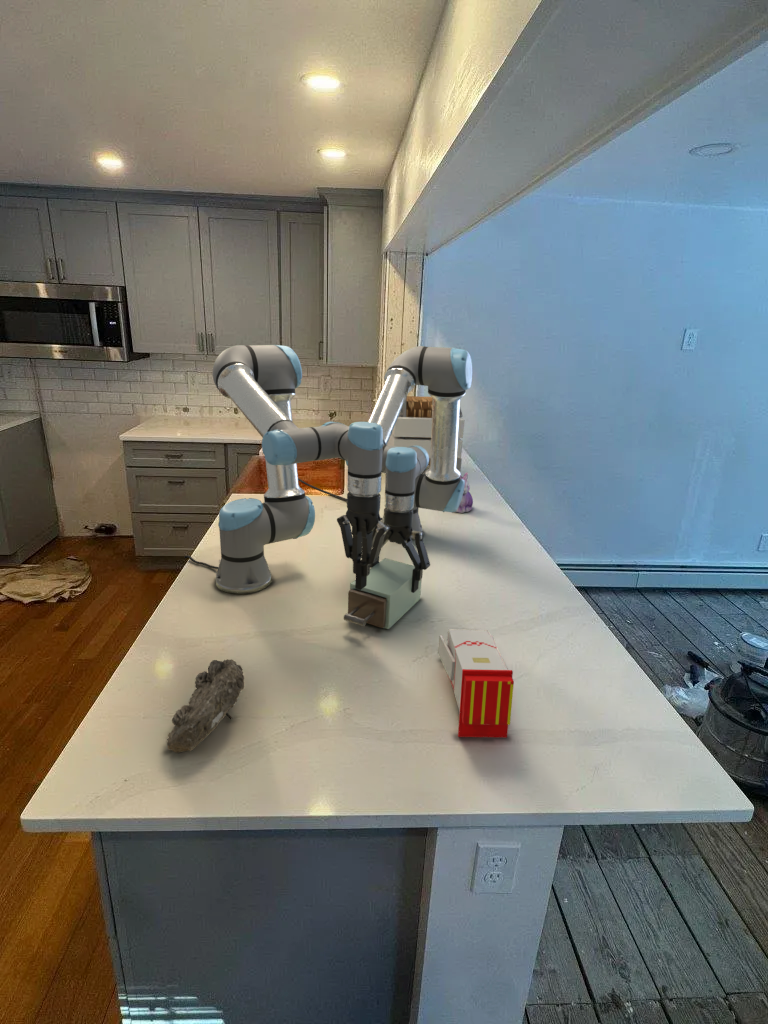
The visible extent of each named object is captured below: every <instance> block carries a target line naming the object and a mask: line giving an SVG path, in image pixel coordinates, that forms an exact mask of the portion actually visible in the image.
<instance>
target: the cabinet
mask: <svg viewBox="0 0 768 1024" xmlns="http://www.w3.org/2000/svg"><path fill="white" fill-rule="evenodd" d="M414 568H415V566H414V565H413V564H410V563H406V562H401V561H399V560H393V559H390V558H386V557H384V558H383V559H382V560H379V563H378V564H376V565H375V566H374V567H372V568H370V574H369V575H368V576H367V585H366V586H365V587H364V588H363V589H361V591H365V592H368V593H371V594H375V595H378V596H381V597H385V598H386V600H387V603H386V624H385V627H384V628H383V629H386V630H390V629H391V628H392V627H393V626H394V625H395V624H396V623H397V622H398V621H399V620H401V618H402V617H403V616H404V615H405V614H407V612H408V611H409V610H411V609H412V608H413V607H414V606H415V605H416V604H417V603H418V602H419V601H420V600H421V592H422V579H421V580H420V581H419V585H418V590H416V591H415V592H414V593H412V592H411V589H412V574H413V569H414ZM355 582H356V579H354V580H353V581H351V582H350V584H349V590H350V589H353V590H356V591H357V589H356V588H355ZM358 590H359V589H358Z"/></svg>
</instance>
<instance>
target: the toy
mask: <svg viewBox="0 0 768 1024" xmlns="http://www.w3.org/2000/svg"><path fill="white" fill-rule="evenodd" d="M446 640H447V643H446V641H445V639H444V636H443V635H442V634H439V637H438V646H437V656H438V657H439V659H440V661H441V663H442V666H443V668H444V670H445V672H446V674H447V677H448V679H449V681H450V684H451V687H452V690H453V693H454V697H455V701H456V705H457V708H458V711H459V714H458V715H459V716H458V730H457V731H458V732H457V737H458V738H508V731H509V726H510V725H511V717H512V707H513V697H514V696H513V695H514V684H515V680H514V679H513V673H514V671H513V670H512V669H508V667H507V665H506V662H505V661H504V659H503V658H502V655H501V653H500V651H499V649H498V647H497V643H496V639H495V637H494V635H493V634H491V632H490V631H489V629H467V628H466V629H465V628H463V629H461V628H460V629H459V628H448V630H447V639H446Z"/></svg>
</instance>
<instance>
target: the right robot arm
mask: <svg viewBox="0 0 768 1024" xmlns="http://www.w3.org/2000/svg"><path fill="white" fill-rule="evenodd" d="M383 379H384V385H383V387H382V389H381V391H380V393H379V396H378V398H377V400H376V403H375V405H374V406H373V410H372V412H371V414H370V416H369V418H368V421H367V422H371V423H377V424H379V425H381V427H382V429H383V443H384V445H383V455H382V471H381V474H385V482H384V483H385V484H384V502H383V503H384V504H383V506H384V508H383V515H382V517H381V522H382V523H383V524H384V525H385V526H386V525H389V527H390V529H389V530H388V532H387V533H386V534H385V538H384V541H383V545H382V548H383V547H384V546H385V545H386V544H387V543H388V542H389V543H396V544H397V545H401V546H402V548H403V549H405V551H406V553H407V556H408V557H409V559H410V561H411V562H412V565H413V566H415V568H414V569H413V574H412V589H411V592H412V593H414V592H415V591H416V590H418V585H419V581H420V580H421V581H422V579H423V572H424V571H426V570H427V569H428V568H429V567H431V561H430V558H429V555H428V551H427V547H426V544H425V541H424V531H423V525H422V524H421V518H420V515H419V509H424V510H431V511H435V512H436V511H437V512H442V513H445V512H446V513H456V512H455V511H457V509H458V507H459V505H460V502H461V499H462V496H463V492H464V487H465V480H463V479H460V475H461V474H460V472H459V471H458V470H457V469H456V461H457V444H458V427H459V410H460V408H461V399H462V398H464V396H465V395H466V391H467V390H469V389H470V388H471V386H472V383H473V361H472V357H471V355H470V353H469V351H467V350H466V349H461V348H457V347H445V346H444V347H443V346H425V345H418V346H413V347H411V348H409V349H407V350H405V351H403V352H402V353H400V354H399V355H398V356H397V357H395V359H394V360H393V361H392V362H391V363H390V364H389V366H388V367H387V369H386V371H385V374H384V377H383ZM416 386H423V387H427V394H428V395H429V397H432V398H433V401H432V429H431V457H430V466H429V465H428V464H429V455H428V453H427V451H426V450H425V449H424V448H422V447H421V446H410V447H396V446H388V445H387V443H388V441H389V438H390V436H391V434H392V431H393V429H394V426H395V424H396V421H397V419H398V416H399V414H400V412H401V409H402V407H403V404H404V402H405V399H406V397H407V396H409V393H411V392H412V391H413V390H414V388H415V387H416ZM345 465H346V466H347V467H348V461H345ZM428 467H429V468H428ZM427 468H428V469H427ZM424 472H425V473H424ZM298 482H300V483H302V484H303V485H305V486H308V487H309V488H311V489H313V490H316V491H319V492H320V493H323V494H326V495H328V496H332V497H334V498H337V499H339V500H343V501H345V502H347V497H343V496H340V495H337V494H334V493H331V492H329V491H327V490H325V489H322V488H318V487H317V486H314V485H312V484H310V483H308V482H306V481H304V480H303V479H301V478H299V477H298ZM377 533H378V532H377V526H376V527H375V529H374V531H373V535H372V547H373V544H374V540H375V537H376V534H377ZM413 540H414V543H413ZM414 544H415V545H414ZM415 547H416V548H415ZM379 562H380V557H379V558H378V560H377V561H376V562H374V563H373V564H370V569H371V568H372V567H374V566H375V565H376V564H378V563H379Z"/></svg>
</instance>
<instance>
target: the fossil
mask: <svg viewBox="0 0 768 1024" xmlns="http://www.w3.org/2000/svg"><path fill="white" fill-rule="evenodd" d="M243 670H244V669H243V667H242V665H240V664H237V662H236V661H235V660H234V659H232V658H231V659H227V658H226V659H224V660H223V661H222V660H217V659H212V660H211V661H210V663H209V665H208V666H207V671H201V672H199V673H198V674H197V675H196V676H195V680H194V684H195V685H194V687H195V689H194V690H193V693H192V694H191V697H190V698H189V700H188V704H184V705H182V706H181V707H180V709H177V710H176V711H175V713H174V715H173V716H172V718H171V723H172V724H173V727H172V730H171V731H170V732H168V734H167V738H166V741H167V742H166V745H167V749H168V750H169V751H173V752H174V753H176V754H178V753H182V752H188V751H189V752H192V751H193V750H195V748H196V747H197V746H199V744H200V743H201V742H203V741H204V740H205V739H206V738H207V737H208V736H209V735H210V734H211V733H212V732H214V730H215V729H217V727H218V726H219V724H220V722H221V721H222V720H223V719H224V718H225V716H226V717H227V719H229V720H233V717H232V715H230V714H229V710H230V709H231V708H234V706H235V704H236V703H237V702H238V699H239V697H240V695H241V693H242V691H243V690H245V689H244V688H245V675H244V671H243Z"/></svg>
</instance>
